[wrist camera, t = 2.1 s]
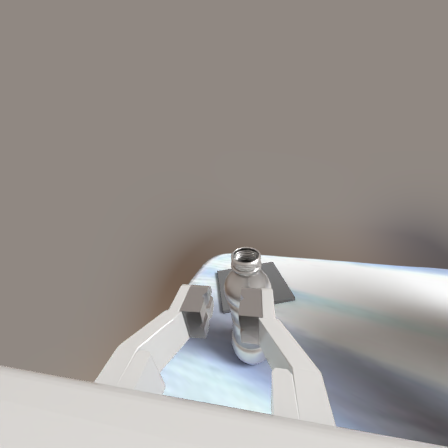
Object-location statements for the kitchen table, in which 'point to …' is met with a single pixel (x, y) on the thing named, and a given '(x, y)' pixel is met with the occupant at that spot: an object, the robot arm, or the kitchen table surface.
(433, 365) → the kitchen table surface
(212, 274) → the kitchen table surface
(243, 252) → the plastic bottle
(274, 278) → the mat
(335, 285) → the kitchen table surface
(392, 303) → the kitchen table surface
